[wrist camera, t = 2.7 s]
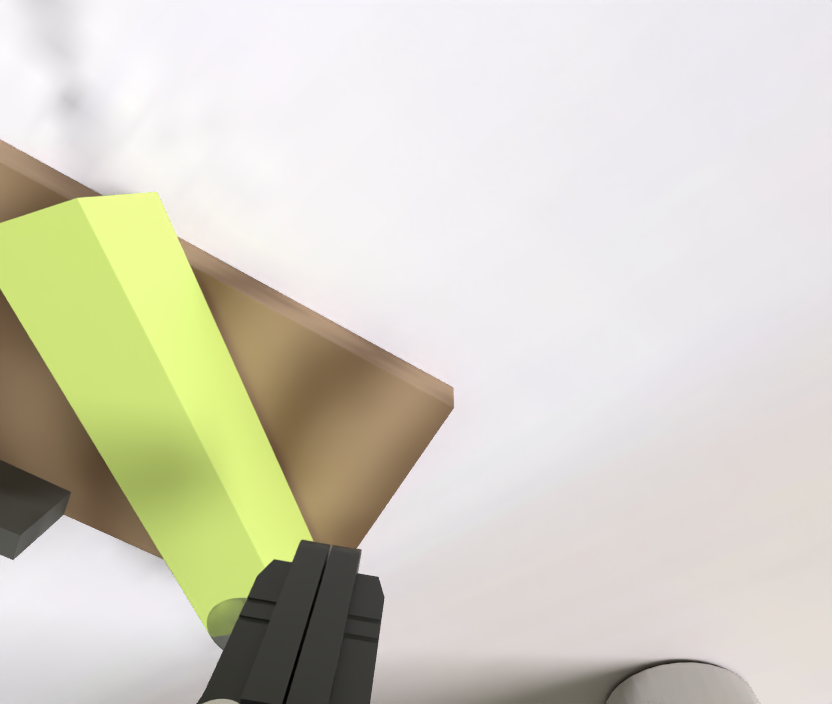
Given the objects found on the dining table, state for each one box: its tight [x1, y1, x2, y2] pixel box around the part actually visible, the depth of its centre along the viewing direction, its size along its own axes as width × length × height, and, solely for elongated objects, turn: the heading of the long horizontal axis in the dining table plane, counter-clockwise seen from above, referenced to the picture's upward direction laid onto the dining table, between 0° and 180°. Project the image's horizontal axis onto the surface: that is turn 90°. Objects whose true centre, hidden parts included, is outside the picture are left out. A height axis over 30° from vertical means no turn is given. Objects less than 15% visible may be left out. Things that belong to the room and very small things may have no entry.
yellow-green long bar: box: [0, 192, 314, 650], centre depth 19 cm, size 20×4×4 cm, turn 15°
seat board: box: [0, 140, 454, 560], centre depth 21 cm, size 24×16×5 cm, turn 60°
